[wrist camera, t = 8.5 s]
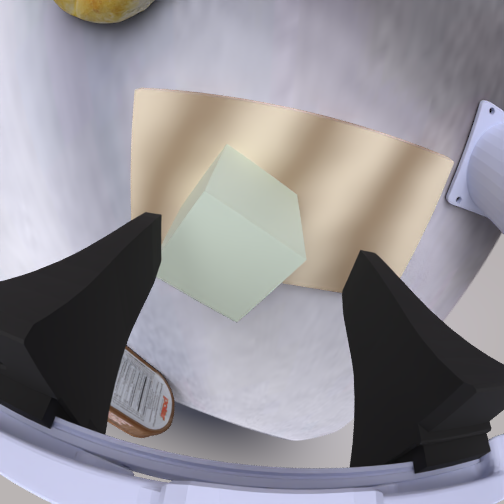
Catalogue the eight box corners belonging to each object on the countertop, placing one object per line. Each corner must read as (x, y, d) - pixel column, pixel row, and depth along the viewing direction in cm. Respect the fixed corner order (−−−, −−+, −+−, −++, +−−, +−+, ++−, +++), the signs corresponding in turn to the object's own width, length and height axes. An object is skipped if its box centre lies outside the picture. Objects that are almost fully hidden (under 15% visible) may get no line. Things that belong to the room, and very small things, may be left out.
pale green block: (297, 194, 19) (306, 259, 14) (246, 249, 21) (237, 322, 16) (226, 143, 17) (204, 190, 12) (180, 207, 20) (147, 271, 14)
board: (447, 156, 17) (454, 162, 17) (384, 291, 24) (387, 299, 24) (141, 87, 16) (134, 89, 15) (137, 248, 23) (133, 255, 22)
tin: (73, 314, 29) (40, 378, 22) (88, 305, 28) (53, 373, 21) (166, 389, 36) (152, 449, 29) (184, 385, 35) (171, 448, 28)
